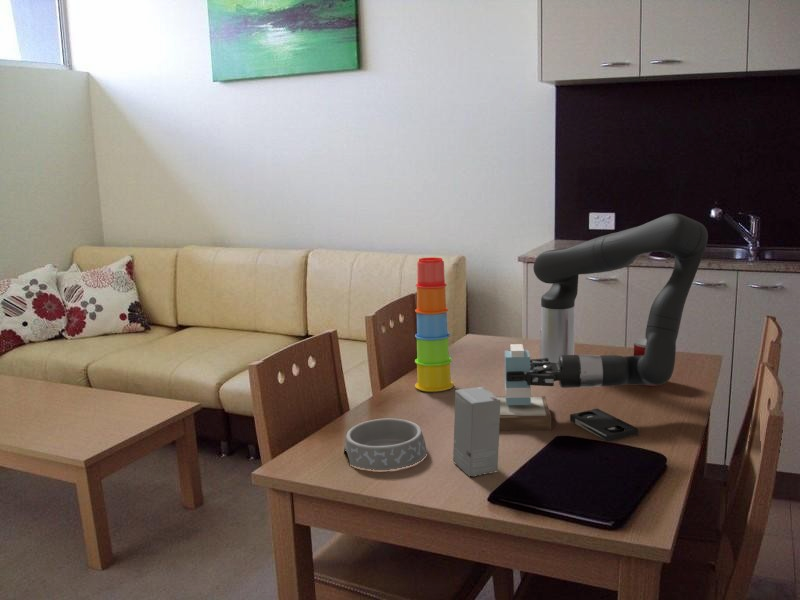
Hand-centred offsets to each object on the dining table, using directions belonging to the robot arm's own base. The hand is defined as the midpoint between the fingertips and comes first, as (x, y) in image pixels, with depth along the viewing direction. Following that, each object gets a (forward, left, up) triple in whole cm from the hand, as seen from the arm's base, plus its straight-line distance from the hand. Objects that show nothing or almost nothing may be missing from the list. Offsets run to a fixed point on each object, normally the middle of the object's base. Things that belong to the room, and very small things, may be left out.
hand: (506, 372), depth 177 cm
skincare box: (+21, -18, -12) cm, 30 cm away
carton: (+1, +2, -7) cm, 7 cm away
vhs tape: (+14, +17, -12) cm, 25 cm away
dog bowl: (+7, -33, -12) cm, 35 cm away
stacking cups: (-29, -7, -12) cm, 32 cm away
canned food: (-7, +45, -12) cm, 47 cm away
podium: (+1, +2, -11) cm, 12 cm away
